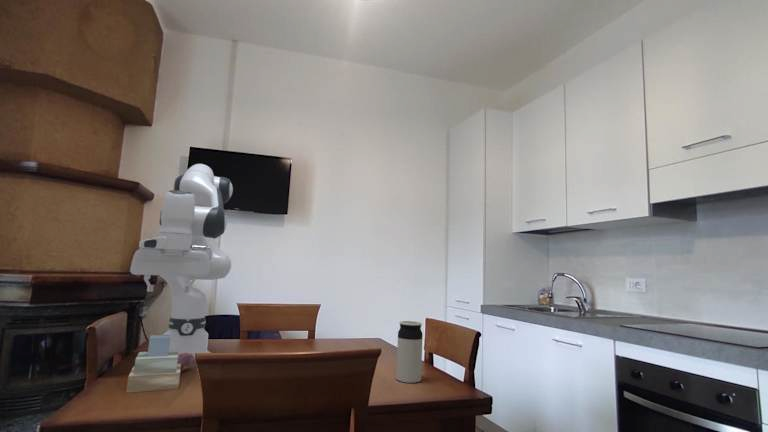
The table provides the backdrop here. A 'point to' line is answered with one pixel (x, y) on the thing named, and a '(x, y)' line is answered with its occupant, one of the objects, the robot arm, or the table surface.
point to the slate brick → (159, 345)
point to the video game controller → (185, 360)
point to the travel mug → (409, 352)
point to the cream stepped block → (154, 373)
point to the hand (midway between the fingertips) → (168, 291)
